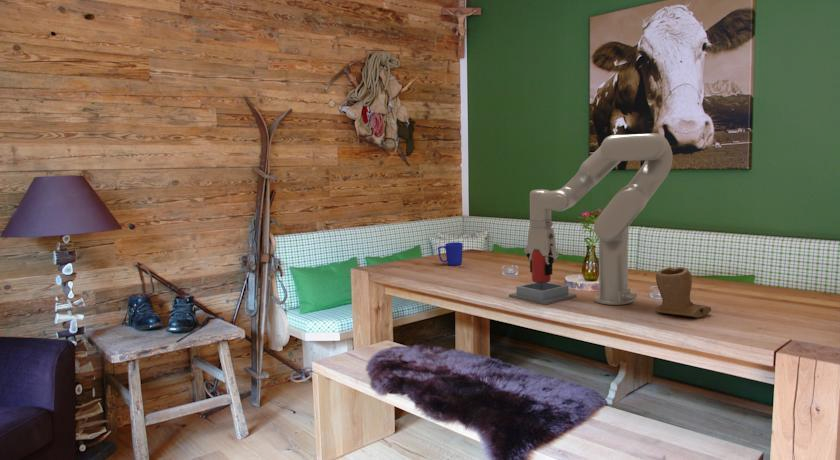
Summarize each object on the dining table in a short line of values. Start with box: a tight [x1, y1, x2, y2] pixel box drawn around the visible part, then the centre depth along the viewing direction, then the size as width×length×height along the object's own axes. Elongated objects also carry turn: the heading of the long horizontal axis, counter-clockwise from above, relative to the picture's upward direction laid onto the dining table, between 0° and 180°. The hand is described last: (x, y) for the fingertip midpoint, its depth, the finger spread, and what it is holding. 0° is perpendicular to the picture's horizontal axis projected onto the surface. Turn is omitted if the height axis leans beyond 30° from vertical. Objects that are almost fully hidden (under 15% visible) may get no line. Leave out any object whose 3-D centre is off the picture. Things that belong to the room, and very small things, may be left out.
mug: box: [437, 241, 464, 266], centre depth 311 cm, size 8×12×10 cm
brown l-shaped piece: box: [655, 266, 712, 319], centre depth 206 cm, size 15×12×15 cm
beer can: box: [531, 249, 552, 283], centre depth 238 cm, size 7×7×12 cm
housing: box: [508, 281, 577, 306], centre depth 239 cm, size 18×16×4 cm
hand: (541, 272), depth 238 cm, fingers closed on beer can, 6 cm apart
